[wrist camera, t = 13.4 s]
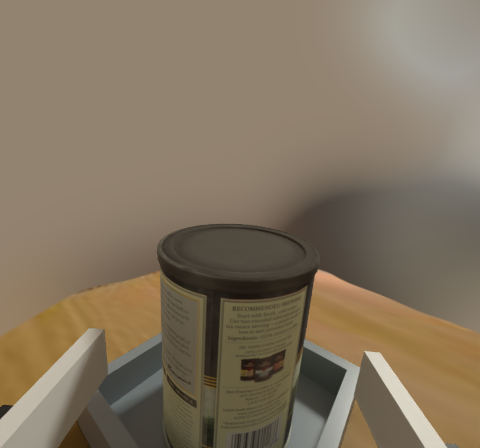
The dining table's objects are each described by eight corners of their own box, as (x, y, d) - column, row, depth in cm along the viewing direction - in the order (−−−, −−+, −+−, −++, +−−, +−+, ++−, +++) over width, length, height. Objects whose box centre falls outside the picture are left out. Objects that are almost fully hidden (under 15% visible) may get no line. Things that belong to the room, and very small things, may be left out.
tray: (221, 322, 30) (222, 296, 29) (353, 403, 21) (362, 369, 20) (78, 424, 17) (73, 384, 17) (250, 744, 8) (260, 694, 7)
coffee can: (229, 340, 26) (238, 217, 22) (315, 410, 19) (347, 248, 16) (136, 402, 19) (128, 234, 15) (220, 550, 12) (240, 306, 8)
